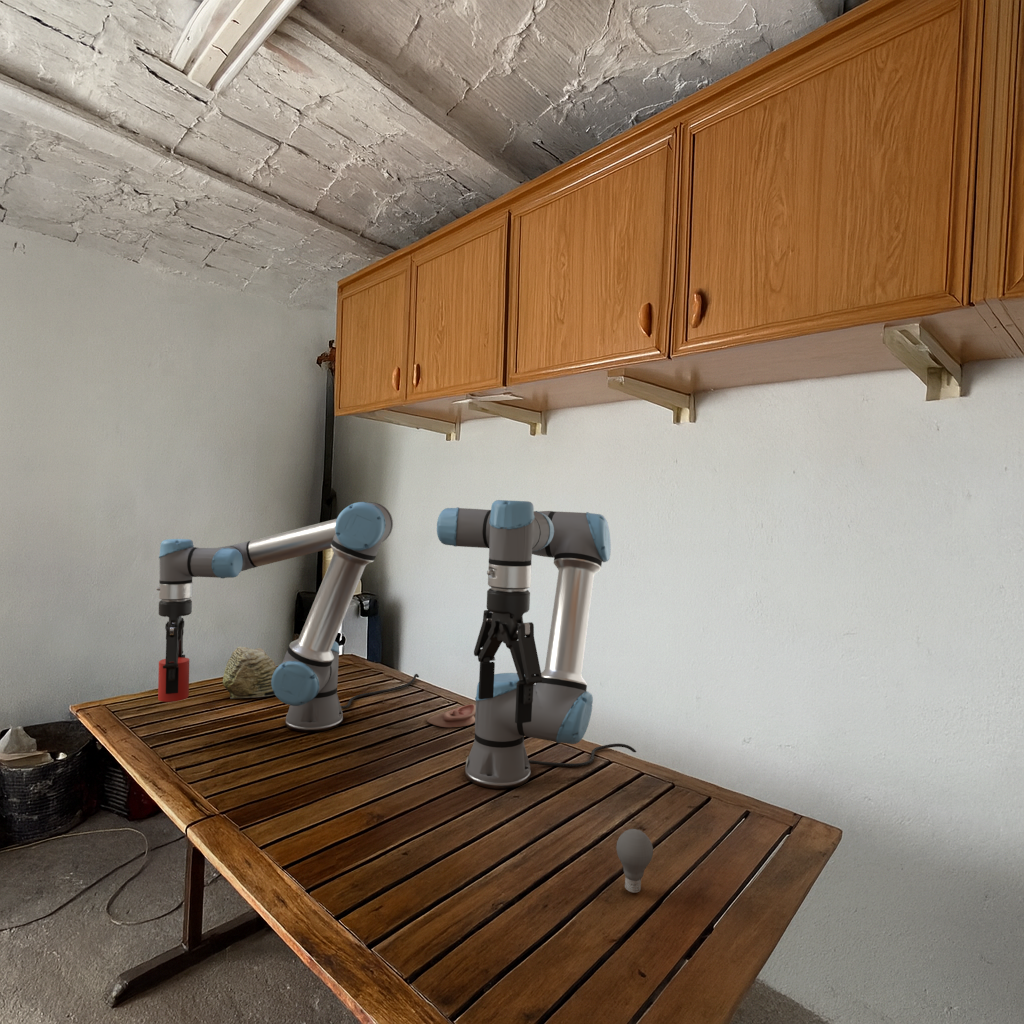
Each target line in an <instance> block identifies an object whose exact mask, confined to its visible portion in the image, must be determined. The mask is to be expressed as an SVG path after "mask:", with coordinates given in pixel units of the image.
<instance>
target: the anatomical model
mask: <svg viewBox="0 0 1024 1024" xmlns="http://www.w3.org/2000/svg"><path fill="white" fill-rule="evenodd" d="M475 710H476V704H474V703H469V704H465V705H462V706H458V707H456V708H455V707H454V708H453V709H450V710H447V711H444V712H440V713H437V714H434V715H432V716H431V717H430V716H429V718H427V720H426V722H427V723H428V724H431V725H433V726H435V727H436V726H437V727H440V728H459V727H466V726H467V727H468V726H471V725H473V724H475Z"/></svg>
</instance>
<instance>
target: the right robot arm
mask: <svg viewBox="0 0 1024 1024" xmlns="http://www.w3.org/2000/svg"><path fill="white" fill-rule="evenodd" d="M534 509H535V508H534V504H533V503H532V502H531V501H528V500H524V501H523V500H506V499H505V500H504V499H496V500H494V501H493V502H492V504H491V508H490V509H483V508H482V509H481V508H468V507H467V508H466V507H465V508H464V507H445V508H444V509H442V510H441V511H440V513H439V514H438V517H437V521H436V522H437V523H436V534H437V539H438V540H439V542H440V543H441V544H443V545H445V546H452V547H462V548H463V547H464V548H479V549H480V548H481V549H484V548H485V549H488V570H487V571H486V574H487V586H489V587H490V588H488V590H487V591H486V609H485V610H483V615H482V621H481V622H482V623H481V626H480V630H479V633H478V637H477V640H476V643H475V646H474V649H473V655H474V657H477V661H478V662H479V675H478V676H479V677H478V683H477V684H476V685H477V686H476V695H475V697H474V698H475V706H476V710H475V714H474V717H475V722H474V738H473V739H474V740H473V743H472V747H471V748H470V752H469V754H468V756H467V757H466V760H465V768H464V775H465V777H466V779H467V781H469V782H471V783H473V784H475V785H476V786H480V787H483V788H488V789H497V790H500V789H501V790H503V789H512V788H517V787H520V786H522V785H524V784H526V783H527V782H529V780H530V778H531V765H540V766H548V767H549V766H550V767H561V768H562V767H563V768H579V767H585V766H590V765H591V764H592V763H593V762H594V760H595V754H596V752H598V751H601V750H605V749H609V748H610V749H611V748H625V749H628V750H630V751H631V752H632V753H637V750H636V749H635V748H634V747H632V746H631V745H628V744H625V743H609V744H604V745H599V746H597V747H595V748H593V749H592V750H591V753H590V759H588V760H587V761H584V762H579V763H576V762H575V763H567V762H566V763H565V762H553V761H552V762H551V761H541V760H532V759H529V757H528V752H527V750H526V745H525V737H528V738H532V739H537V740H543V741H549V742H554V743H557V744H569V745H576V744H578V743H580V742H581V741H582V740H583V739H584V736H585V734H586V732H587V730H588V727H589V724H590V721H591V716H592V711H593V704H594V703H593V702H594V697H593V696H594V695H593V694H592V693H591V692H590V691H588V690H587V689H588V683H587V682H586V679H584V677H583V675H582V674H583V666H584V657H585V650H586V641H587V634H588V627H589V626H588V625H589V619H590V609H591V602H592V595H593V586H594V577H595V575H596V574H597V573H599V572H600V571H601V570H602V566H603V565H602V563H608V562H609V561H610V557H611V546H612V545H611V534H610V527H609V522H608V520H607V518H606V517H605V516H604V515H603V514H600V513H593V512H589V511H586V512H577V511H576V512H575V511H554V510H540V511H539V510H534ZM533 555H534V556H539V557H545V558H553V565H554V566H555V567H556V569H557V570H558V572H557V579H556V580H557V581H556V586H555V592H554V593H555V595H554V601H553V609H552V615H551V624H550V629H549V637H548V644H547V649H546V650H547V651H546V657H545V664H544V669H543V671H541V665H540V660H539V655H538V650H537V646H536V641H535V624H534V622H524V618H523V616H524V614H527V613H528V612H529V611H530V609H531V608H530V605H531V592H530V590H528V589H529V588H531V586H532V558H533ZM502 643H503V644H505V647H506V648H507V649H509V652H510V656H511V658H512V661H513V664H514V667H515V671H516V672H500V673H495V671H496V670H495V667H496V666H495V665H496V662H494V661H496V657H495V656H496V654H497V652H498V650H499V649H500V646H501V645H502Z"/></svg>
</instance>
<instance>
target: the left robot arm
mask: <svg viewBox="0 0 1024 1024" xmlns="http://www.w3.org/2000/svg"><path fill="white" fill-rule="evenodd" d="M393 527H394V519H393V517H392V514H391V512H390V511H389V510H388V509H387V508H386V507H385V506H384V505H382V504H380V503H378V502H371V501H369V502H367V501H358V502H354V503H351V504H349V505H348V506H346V507H345V508H343V510H341V511H340V512H339V514H338V516H337V517H336V518H334V519H330V520H326V521H322V522H319V523H315V524H310V525H306V526H303V527H298V528H295V529H291V530H287V531H283V532H279V533H274V534H272V535H267V536H264V537H261V538H255V539H251V540H248V541H244V542H239V543H235V544H231V545H226V546H219V547H196V546H195V545H194V541H193V540H192V539H188V538H168V539H167V538H166V539H164V540H162V541H161V542H160V547H159V556H158V559H159V583H158V584H159V586H157V587H156V588H155V589H156V591H159V592H158V598H159V599H160V600H159V602H158V615H159V616H160V617H164V618H166V617H167V618H168V621H166V622H165V659H166V664H165V666H163V669H164V668H166V694H172V693H178V677H179V667H178V657H185V658H186V654H184V644H183V643H184V631H185V630H184V629H185V620H184V617H186V616H190V614H192V612H193V601H192V599H191V598H192V597H193V583H194V582H193V578H218V579H219V578H220V579H228V578H229V579H231V578H233V579H234V578H236V577H238V576H239V575H240V573H241V572H244V571H247V570H251V569H255V568H259V567H262V566H266V565H269V564H274V563H278V562H282V561H286V560H290V559H294V558H298V557H301V556H306V555H310V554H314V553H318V552H322V551H326V550H329V549H330V550H331V549H332V552H333V554H332V556H331V559H330V561H329V564H328V566H327V569H326V571H325V574H324V576H323V579H322V581H321V584H320V586H319V588H318V591H317V592H316V595H315V598H314V601H313V602H312V605H311V608H310V609H309V613H308V615H307V618H306V620H305V623H304V625H303V627H302V630H301V631H300V634H299V637H298V638H297V639H295V640H293V641H291V642H290V643H289V644H288V648H287V650H286V652H285V654H284V657H283V659H282V662H281V663H280V664H279V665H278V666H276V669H275V671H274V673H273V675H272V680H271V685H272V690H273V691H274V693H275V695H274V696H275V697H276V698H277V699H278V700H279V701H280V702H281V703H283V704H286V705H287V706H289V708H288V711H287V713H286V715H285V726H286V728H287V729H289V730H291V731H294V732H295V731H296V732H301V733H316V732H325V731H329V730H332V729H335V728H337V727H339V726H340V725H342V723H343V722H344V714H343V710H344V709H347V708H349V707H350V706H351V704H352V702H353V701H354V700H356V699H359V698H362V697H366V696H372V695H373V696H374V695H377V694H383V693H389V692H394V691H398V690H402V689H404V688H406V687H409V686H410V685H411V684H413V683H415V680H416V678H420V675H419V674H418V673H415V674H414V675H413V677H412V678H411V680H410V681H408V682H407V683H406V684H403V685H400V686H396V687H392V688H386V689H381V690H376V691H369V692H364V693H359V694H357V695H354V696H352V697H351V698H350V699H349V700H348V703H347V704H346V705H341V702H340V699H339V695H338V682H339V662H340V661H339V660H340V659H339V657H340V645H339V643H338V642H337V641H336V638H337V636H338V633H339V631H340V629H341V627H342V624H343V622H344V619H345V617H346V615H347V611H348V610H349V607H350V605H351V602H352V599H353V597H354V595H355V593H356V590H357V587H358V585H359V583H360V580H361V578H362V575H363V573H364V571H365V568H366V566H367V565H369V564H370V563H373V562H375V560H376V557H377V555H378V553H379V550H380V548H381V545H382V543H383V542H384V541H386V540H387V539H388V538H389V537H390V536H391V534H392V531H393Z"/></svg>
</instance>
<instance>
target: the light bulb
mask: <svg viewBox="0 0 1024 1024" xmlns="http://www.w3.org/2000/svg"><path fill="white" fill-rule="evenodd" d="M615 849H616V854H617V857H618V859H619V861H620V863H621V865H622V867H623V873H624V874H623V875H624V876H625V878H624V888H625V890H627V891H628V892H630V893H634V894H635V893H639V892H640V891H641V889H642V887H641V886H642V879H643V877H644V875H645V871H646V868H647V867H648V866H649V864H650V863H651V861H652V859H653V855H654V847H653V843H652V841H651V838H649V836H648V835H647V834H646V833H645V832H643V831H642V830H641V829H636V828H629V829H627V830H625V831H623V832H622V833H621V834H620V835H619V837H618V839H617V841H616V847H615Z"/></svg>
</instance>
